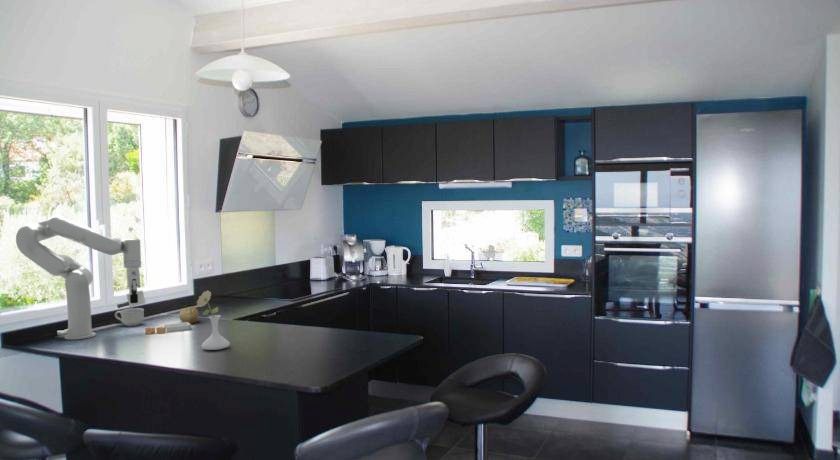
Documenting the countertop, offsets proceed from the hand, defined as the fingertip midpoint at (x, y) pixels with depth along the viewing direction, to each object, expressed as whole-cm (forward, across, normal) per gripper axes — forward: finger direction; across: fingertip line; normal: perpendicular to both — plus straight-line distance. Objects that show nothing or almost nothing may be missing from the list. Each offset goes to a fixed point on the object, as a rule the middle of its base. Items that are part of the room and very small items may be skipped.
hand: (133, 301), depth 299 cm
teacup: (+15, +24, 0) cm, 28 cm away
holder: (+15, -5, -19) cm, 24 cm away
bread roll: (+15, +12, -27) cm, 33 cm away
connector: (+2, 0, +1) cm, 2 cm away
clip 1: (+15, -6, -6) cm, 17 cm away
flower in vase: (+15, -60, -24) cm, 66 cm away
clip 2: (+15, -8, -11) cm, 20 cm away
